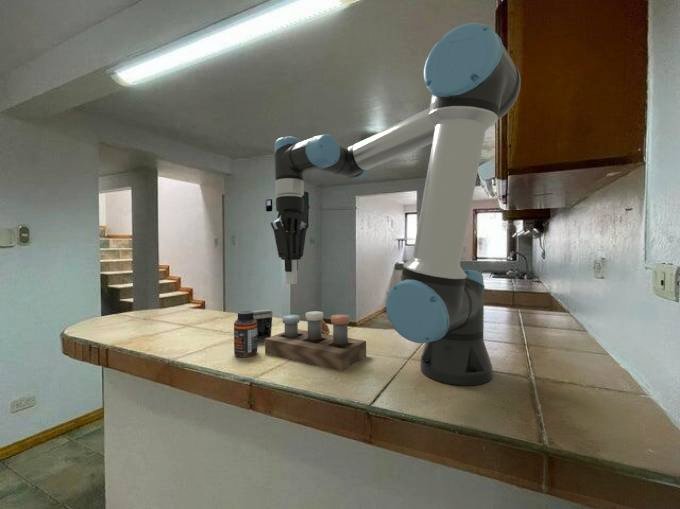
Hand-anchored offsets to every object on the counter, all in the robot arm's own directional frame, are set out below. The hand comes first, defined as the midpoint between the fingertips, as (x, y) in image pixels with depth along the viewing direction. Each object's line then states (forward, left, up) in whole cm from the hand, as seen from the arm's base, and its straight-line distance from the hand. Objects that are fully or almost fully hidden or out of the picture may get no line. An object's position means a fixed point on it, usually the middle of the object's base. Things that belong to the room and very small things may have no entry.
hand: (291, 283), depth 89 cm
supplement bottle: (+8, +9, -19) cm, 22 cm away
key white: (-8, 0, -14) cm, 16 cm away
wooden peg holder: (-8, 0, -18) cm, 20 cm away
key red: (-16, 0, -14) cm, 21 cm away
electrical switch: (+15, -2, -19) cm, 24 cm away
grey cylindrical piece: (0, 0, -16) cm, 16 cm away
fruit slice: (+1, -14, -19) cm, 23 cm away
